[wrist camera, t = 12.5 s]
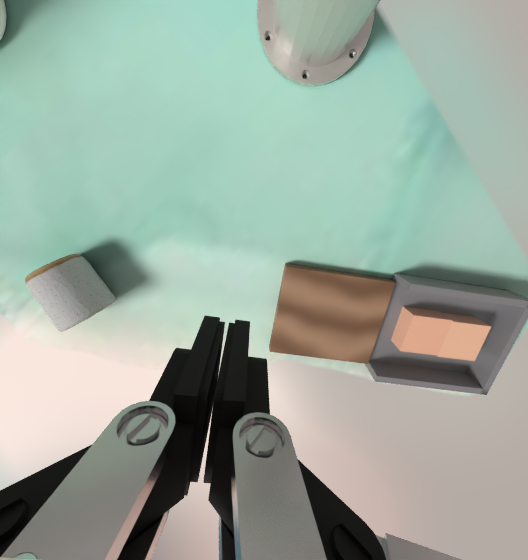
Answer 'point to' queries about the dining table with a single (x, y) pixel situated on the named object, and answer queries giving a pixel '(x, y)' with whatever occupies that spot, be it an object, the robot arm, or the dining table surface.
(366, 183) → the dining table surface
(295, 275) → the board
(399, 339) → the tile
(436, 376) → the tray
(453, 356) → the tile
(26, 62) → the dining table surface
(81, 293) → the ceramic mug
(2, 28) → the vodka
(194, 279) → the dining table surface
